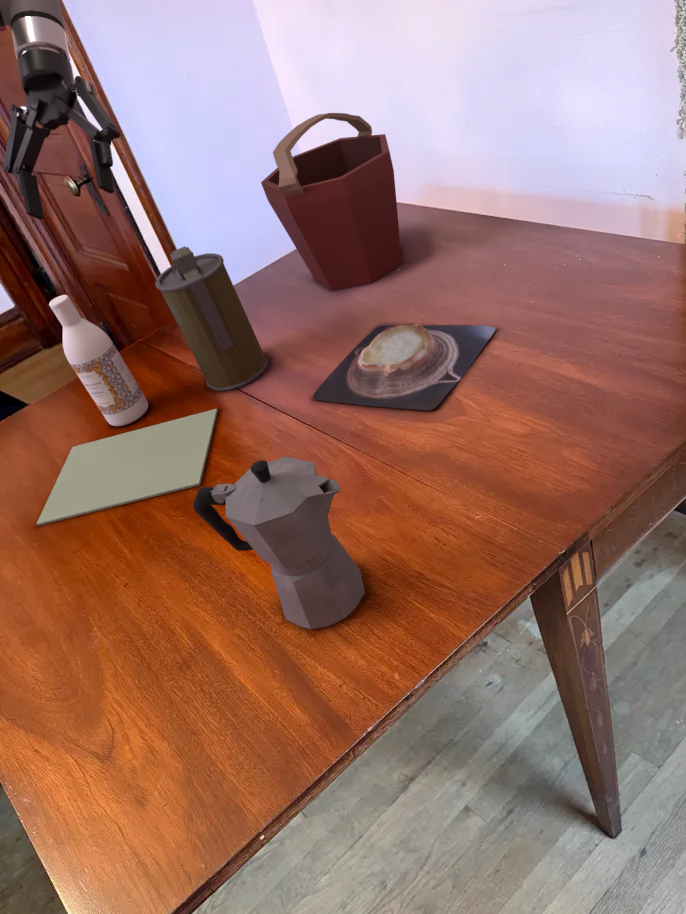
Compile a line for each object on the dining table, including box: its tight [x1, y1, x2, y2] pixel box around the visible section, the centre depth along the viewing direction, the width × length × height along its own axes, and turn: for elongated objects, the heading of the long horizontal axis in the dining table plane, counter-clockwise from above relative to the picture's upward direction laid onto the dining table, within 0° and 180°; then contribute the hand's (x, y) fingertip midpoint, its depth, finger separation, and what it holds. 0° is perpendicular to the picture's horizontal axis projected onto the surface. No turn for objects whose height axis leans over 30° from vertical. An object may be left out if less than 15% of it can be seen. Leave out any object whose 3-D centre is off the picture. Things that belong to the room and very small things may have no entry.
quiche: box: [312, 322, 496, 411], centre depth 106 cm, size 21×20×4 cm
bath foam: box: [48, 294, 149, 427], centre depth 112 cm, size 7×7×20 cm
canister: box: [154, 246, 269, 392], centre depth 113 cm, size 11×10×20 cm
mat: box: [36, 408, 219, 527], centre depth 107 cm, size 24×18×1 cm
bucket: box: [260, 112, 403, 291], centre depth 129 cm, size 24×22×25 cm
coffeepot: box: [192, 455, 366, 630], centre depth 72 cm, size 15×9×18 cm, turn 78°
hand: (70, 203), depth 113 cm, fingers open, 13 cm apart
